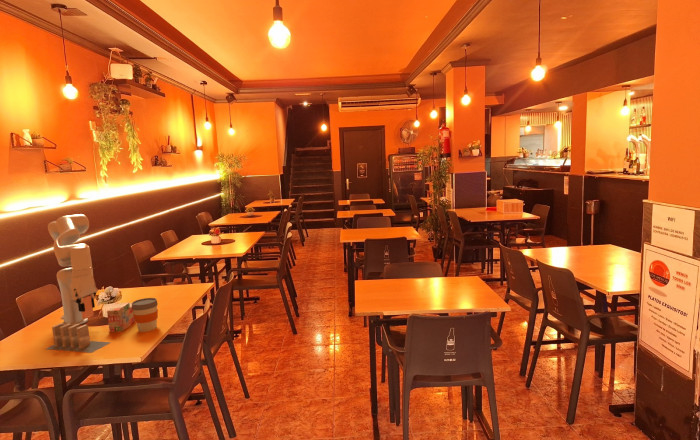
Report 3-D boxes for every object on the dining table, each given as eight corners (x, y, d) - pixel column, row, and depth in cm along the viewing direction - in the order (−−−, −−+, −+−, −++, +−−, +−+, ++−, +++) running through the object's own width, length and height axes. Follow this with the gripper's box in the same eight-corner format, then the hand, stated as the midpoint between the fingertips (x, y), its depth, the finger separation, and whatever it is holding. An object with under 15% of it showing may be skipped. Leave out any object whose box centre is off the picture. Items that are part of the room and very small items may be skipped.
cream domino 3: (71, 347, 224) (68, 327, 222) (79, 343, 229) (76, 324, 227) (73, 347, 223) (70, 328, 222) (82, 343, 228) (79, 324, 227)
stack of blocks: (128, 318, 264) (126, 297, 262) (139, 318, 264) (137, 297, 262) (109, 332, 243) (106, 310, 241) (121, 332, 242) (118, 309, 241)
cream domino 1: (54, 346, 227) (51, 326, 225) (63, 342, 231) (60, 323, 230) (57, 346, 226) (54, 327, 225) (66, 342, 231) (63, 323, 230)
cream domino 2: (62, 346, 225) (60, 327, 224) (71, 342, 230) (68, 323, 229) (65, 347, 225) (62, 327, 223) (74, 343, 230) (71, 323, 228)
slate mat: (45, 349, 224) (44, 349, 224) (66, 340, 235) (66, 339, 235) (91, 353, 216) (91, 352, 216) (111, 343, 228) (111, 342, 228)
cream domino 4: (79, 348, 223) (76, 328, 221) (87, 344, 227) (85, 324, 226) (82, 348, 222) (79, 328, 221) (90, 344, 227) (87, 324, 225)
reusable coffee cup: (150, 323, 254) (147, 296, 252) (165, 326, 248) (162, 299, 246) (129, 331, 243) (126, 303, 241) (144, 334, 237) (141, 306, 235)
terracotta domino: (82, 318, 219) (79, 298, 218) (91, 315, 224) (88, 295, 222) (85, 318, 218) (82, 298, 217) (93, 315, 223) (90, 295, 222)
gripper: (90, 267, 227) (94, 303, 230) (60, 276, 211) (65, 315, 214) (102, 267, 225) (107, 303, 228) (73, 277, 209) (78, 315, 211)
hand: (87, 308), depth 221 cm, fingers closed on terracotta domino, 4 cm apart
